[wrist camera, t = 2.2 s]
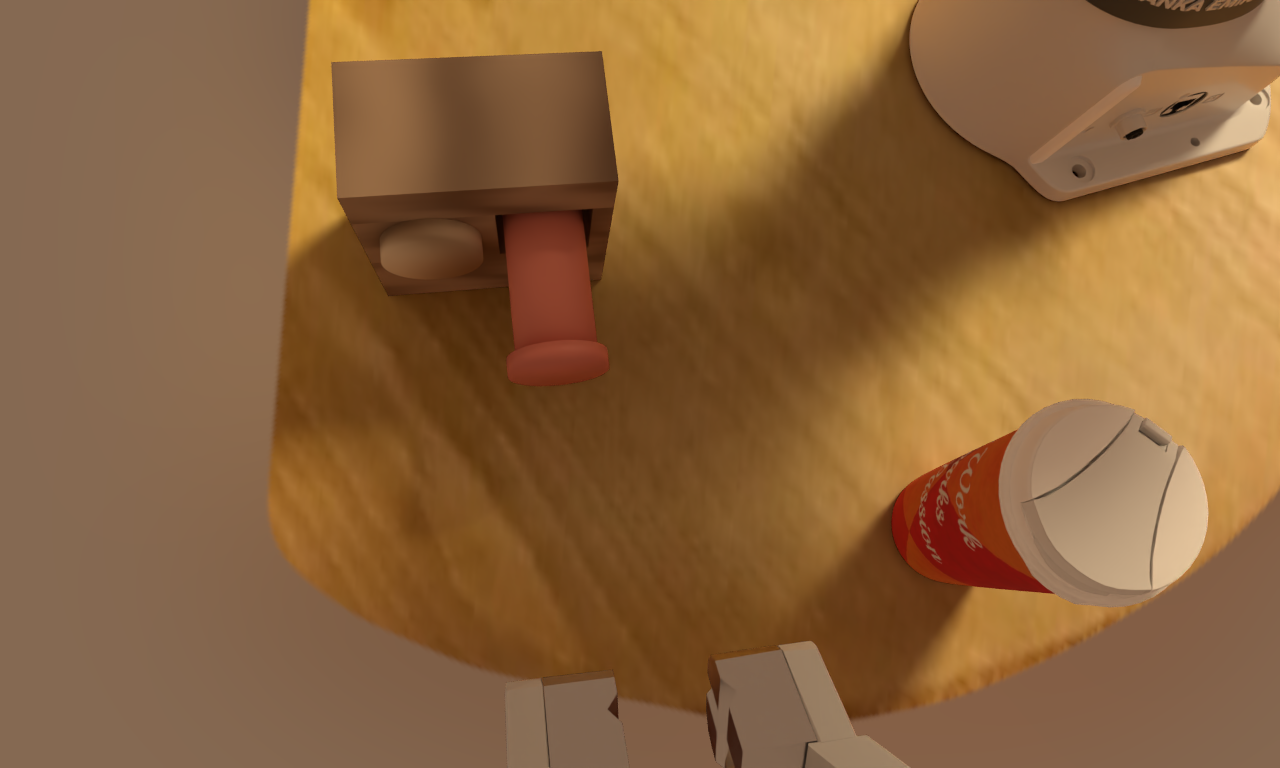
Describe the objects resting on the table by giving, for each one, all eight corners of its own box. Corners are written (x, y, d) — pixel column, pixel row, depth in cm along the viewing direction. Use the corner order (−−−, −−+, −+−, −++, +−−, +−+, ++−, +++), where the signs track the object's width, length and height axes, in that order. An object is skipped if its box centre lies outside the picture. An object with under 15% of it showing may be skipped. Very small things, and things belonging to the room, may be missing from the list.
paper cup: (920, 424, 45) (1083, 349, 31) (1039, 514, 44) (1256, 478, 31) (840, 542, 43) (976, 517, 29) (964, 638, 42) (1160, 658, 29)
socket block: (588, 176, 46) (601, 51, 36) (603, 297, 45) (621, 203, 34) (382, 189, 45) (331, 62, 34) (389, 314, 43) (338, 222, 32)
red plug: (581, 172, 41) (585, 124, 37) (605, 380, 39) (613, 354, 35) (490, 178, 41) (484, 129, 37) (509, 389, 38) (505, 363, 34)
